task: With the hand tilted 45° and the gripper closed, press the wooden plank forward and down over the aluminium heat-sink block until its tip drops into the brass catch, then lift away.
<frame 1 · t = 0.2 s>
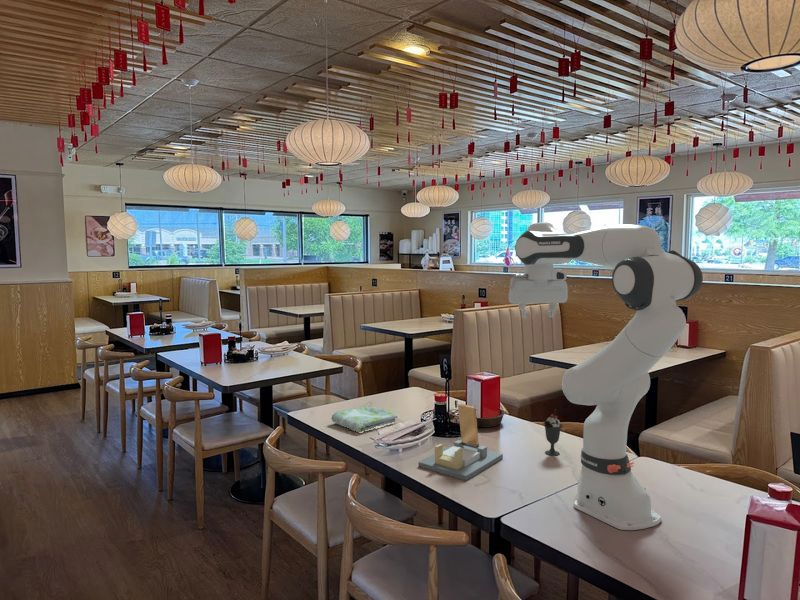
hand: (537, 317, 173), 48 cm above the table, tool pointing down, fingers open, 8 cm apart
clip base: (470, 457, 182), on the table
sundae: (552, 453, 186), on the table
wooden plank: (468, 426, 180), point 11 cm above the table, hinge at 10.0°
towel: (364, 424, 220), on the table
dish: (482, 423, 220), on the table
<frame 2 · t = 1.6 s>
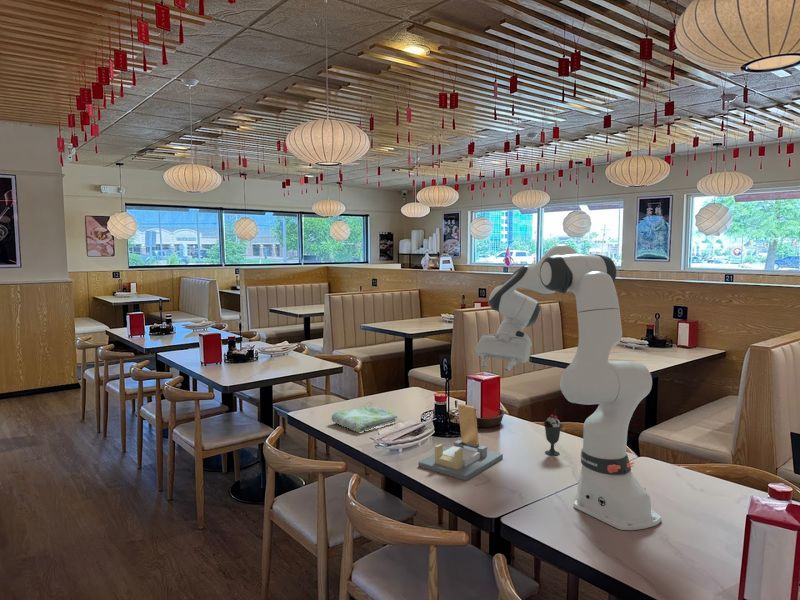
hand: (494, 367, 192), 28 cm above the table, tool tilted 45°, fingers open, 8 cm apart
nothing on the table moved.
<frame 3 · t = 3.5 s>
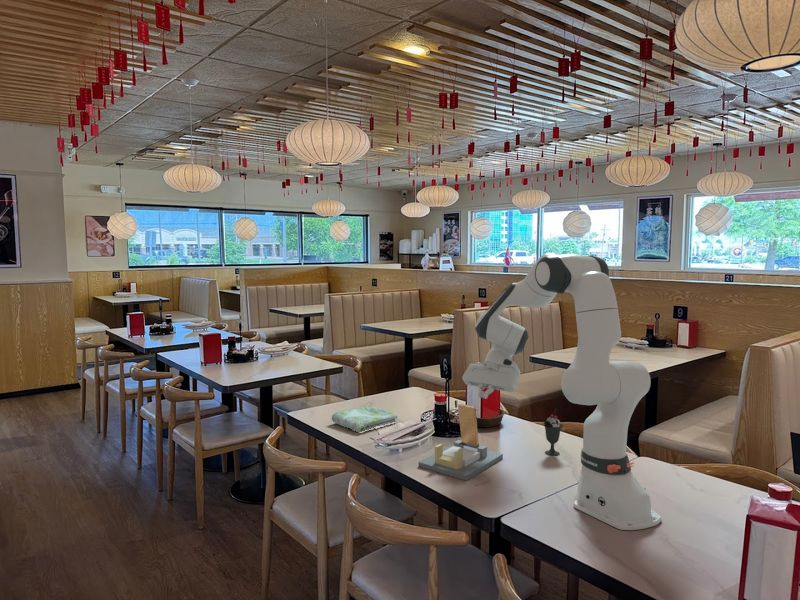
hand: (482, 397, 186), 19 cm above the table, tool tilted 45°, fingers closed
nothing on the table moved.
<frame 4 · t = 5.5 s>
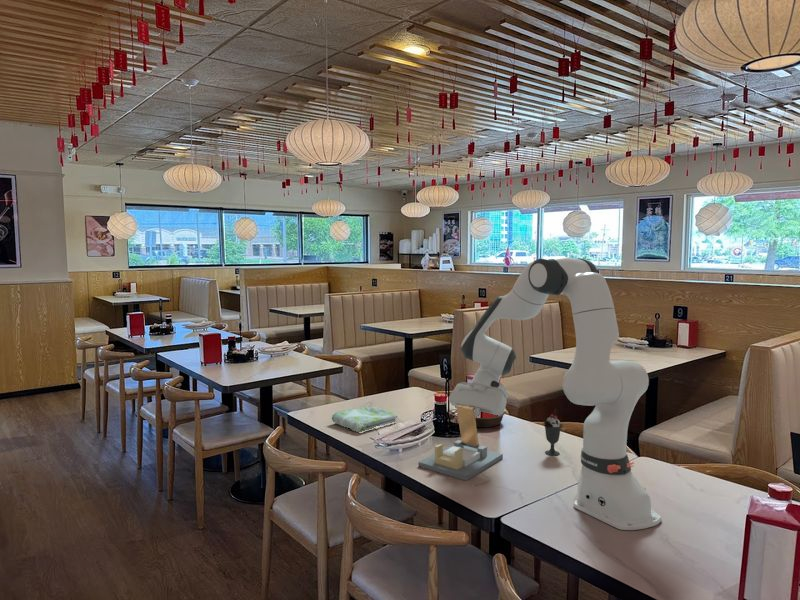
hand: (468, 420, 180), 13 cm above the table, tool tilted 45°, fingers closed, pressing on wooden plank
wooden plank: (467, 427, 180), point 11 cm above the table, hinge at 13.8°, touching gripper
everything else where it was.
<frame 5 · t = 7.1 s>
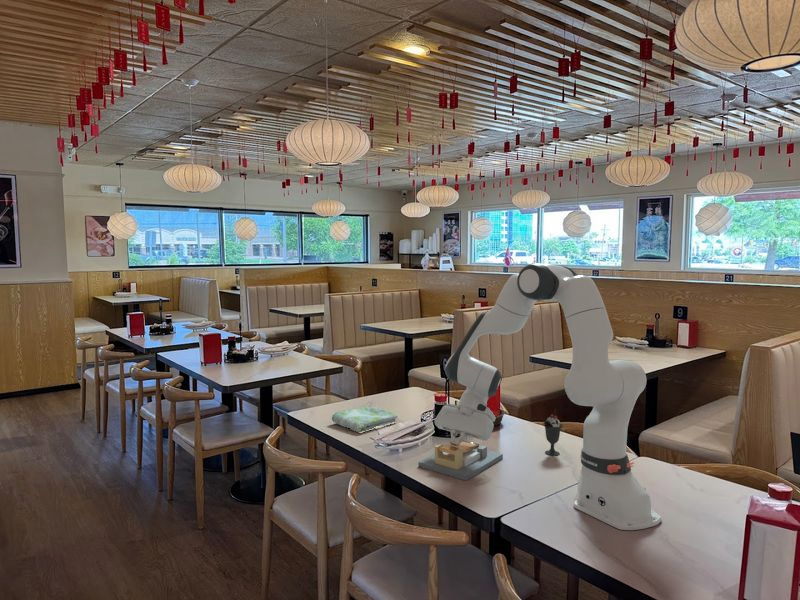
hand: (453, 444, 175), 7 cm above the table, tool tilted 45°, fingers closed, pressing on wooden plank
wooden plank: (459, 447, 177), point 5 cm above the table, hinge at 82.8°, touching gripper
everything else where it was.
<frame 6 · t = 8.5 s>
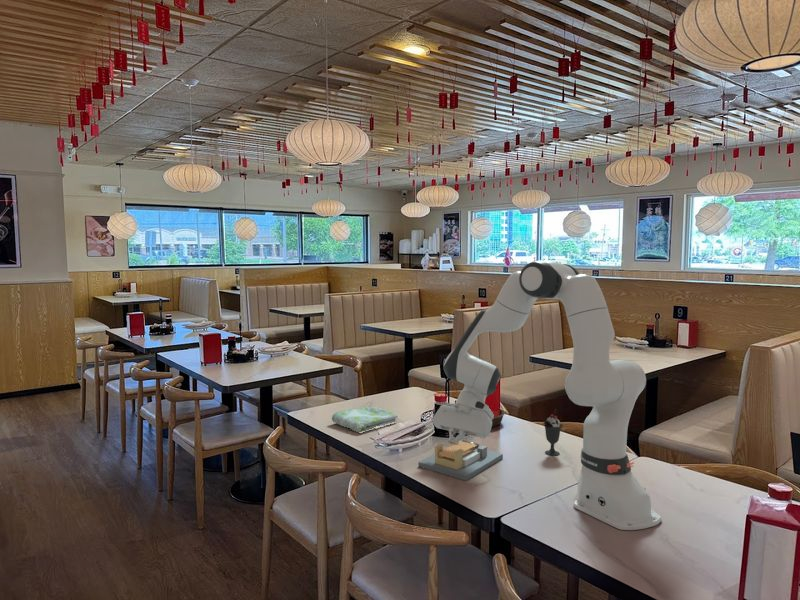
hand: (452, 443, 173), 8 cm above the table, tool tilted 45°, fingers closed
wooden plank: (459, 449, 177), point 5 cm above the table, hinge at 88.4°
everything else where it was.
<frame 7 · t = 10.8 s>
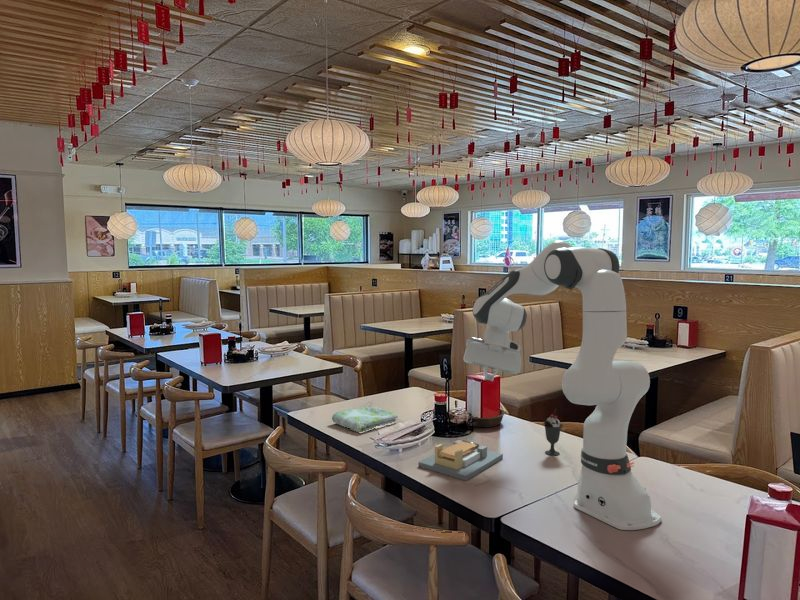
hand: (488, 380, 188), 24 cm above the table, tool tilted 25°, fingers closed
nothing on the table moved.
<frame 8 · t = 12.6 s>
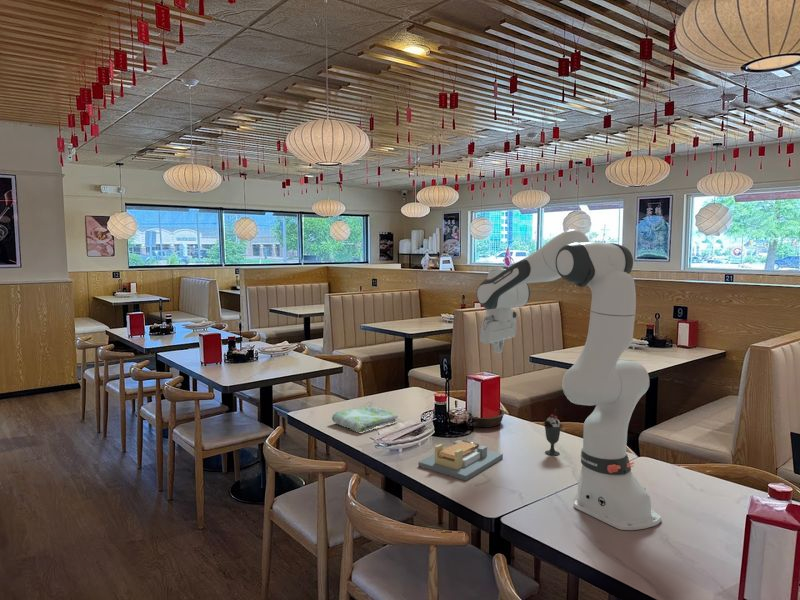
hand: (498, 352, 193), 33 cm above the table, tool pointing down, fingers closed
nothing on the table moved.
at the end: wooden plank at +88° (first picture: +10°); sundae moved 0.2 cm from its start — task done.
